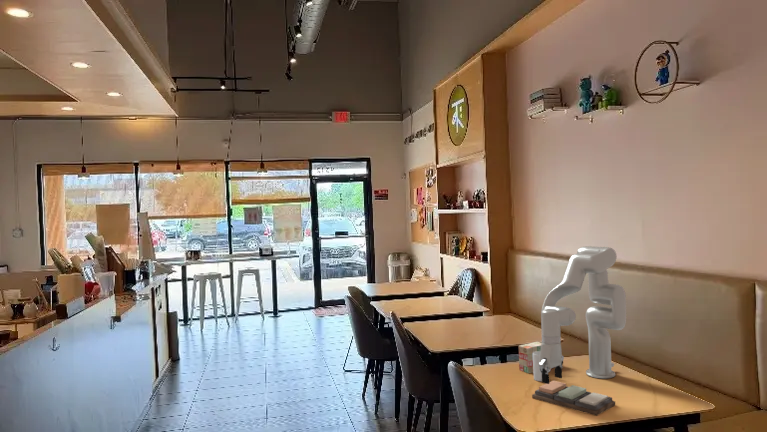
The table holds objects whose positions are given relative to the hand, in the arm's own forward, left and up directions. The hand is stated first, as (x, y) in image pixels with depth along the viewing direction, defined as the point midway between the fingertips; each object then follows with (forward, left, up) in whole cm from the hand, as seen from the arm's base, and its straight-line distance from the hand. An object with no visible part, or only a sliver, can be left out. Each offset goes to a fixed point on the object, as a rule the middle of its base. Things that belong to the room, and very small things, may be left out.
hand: (552, 380), depth 230 cm
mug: (-17, -15, -7) cm, 24 cm away
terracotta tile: (0, 0, -4) cm, 4 cm away
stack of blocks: (-30, -25, -7) cm, 40 cm away
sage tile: (0, +9, -4) cm, 10 cm away
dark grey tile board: (0, +9, -7) cm, 11 cm away
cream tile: (0, +18, -5) cm, 19 cm away
